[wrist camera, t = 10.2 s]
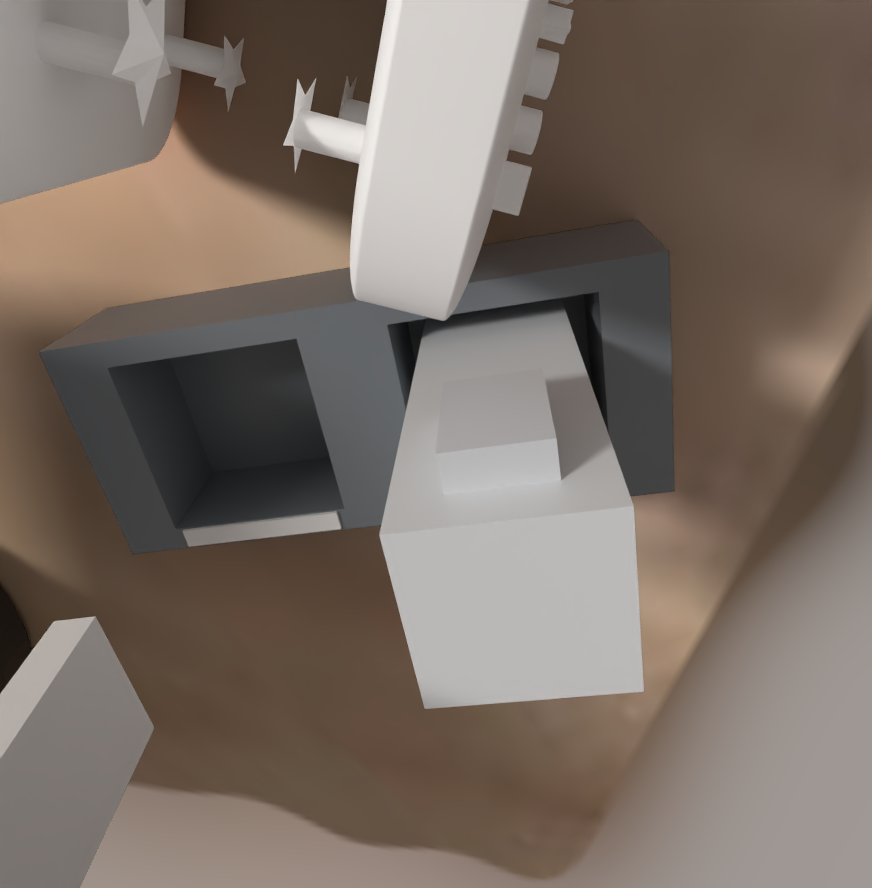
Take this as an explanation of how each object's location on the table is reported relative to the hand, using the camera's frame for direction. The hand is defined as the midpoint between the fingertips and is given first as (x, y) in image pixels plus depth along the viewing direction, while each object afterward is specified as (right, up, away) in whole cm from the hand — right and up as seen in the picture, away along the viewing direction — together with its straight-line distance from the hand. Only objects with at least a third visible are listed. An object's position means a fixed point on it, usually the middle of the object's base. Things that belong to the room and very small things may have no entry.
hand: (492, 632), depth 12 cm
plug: (+1, +6, +11) cm, 12 cm away
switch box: (-3, +6, +12) cm, 13 cm away
